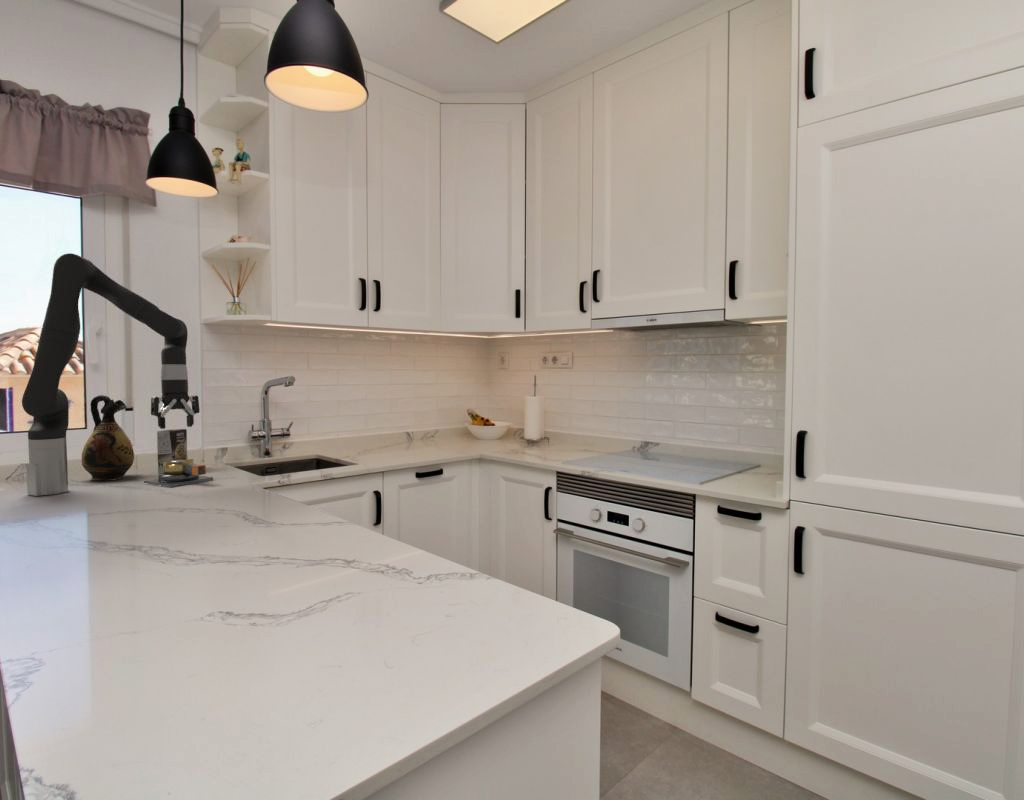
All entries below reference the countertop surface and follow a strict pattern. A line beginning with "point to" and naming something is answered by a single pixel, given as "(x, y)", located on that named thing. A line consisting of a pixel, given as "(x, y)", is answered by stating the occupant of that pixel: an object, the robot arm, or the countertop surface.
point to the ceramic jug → (107, 443)
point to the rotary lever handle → (183, 468)
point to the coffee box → (171, 446)
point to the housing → (177, 478)
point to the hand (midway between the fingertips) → (176, 427)
